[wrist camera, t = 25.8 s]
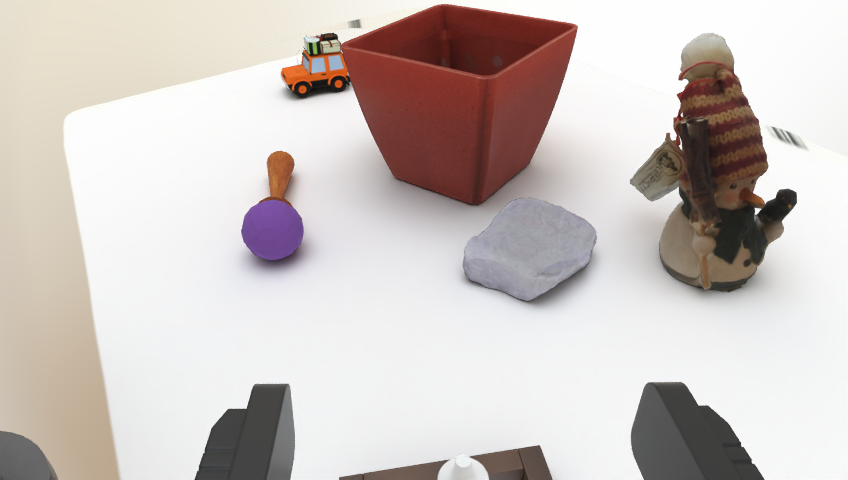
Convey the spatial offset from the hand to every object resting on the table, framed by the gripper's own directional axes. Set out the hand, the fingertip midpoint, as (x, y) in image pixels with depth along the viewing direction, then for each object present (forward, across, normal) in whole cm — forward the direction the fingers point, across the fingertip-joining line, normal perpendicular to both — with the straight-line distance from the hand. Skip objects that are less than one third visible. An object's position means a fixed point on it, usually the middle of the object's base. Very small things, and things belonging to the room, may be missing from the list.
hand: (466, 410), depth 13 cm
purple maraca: (+50, +14, +22) cm, 57 cm away
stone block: (+39, -12, +21) cm, 46 cm away
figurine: (+38, -28, +20) cm, 51 cm away
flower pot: (+58, -7, +19) cm, 62 cm away
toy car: (+90, +13, +18) cm, 92 cm away
